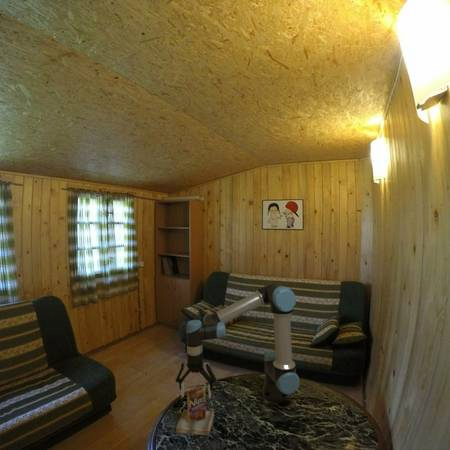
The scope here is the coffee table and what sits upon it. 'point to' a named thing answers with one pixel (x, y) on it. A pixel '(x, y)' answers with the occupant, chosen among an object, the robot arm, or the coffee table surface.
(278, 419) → the coffee table surface
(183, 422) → the board
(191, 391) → the candy box
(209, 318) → the robot arm
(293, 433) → the coffee table surface
